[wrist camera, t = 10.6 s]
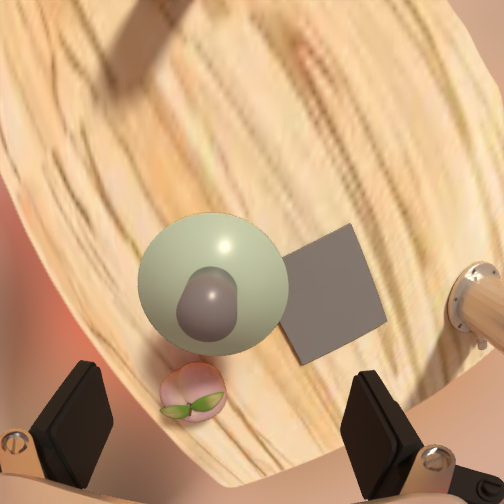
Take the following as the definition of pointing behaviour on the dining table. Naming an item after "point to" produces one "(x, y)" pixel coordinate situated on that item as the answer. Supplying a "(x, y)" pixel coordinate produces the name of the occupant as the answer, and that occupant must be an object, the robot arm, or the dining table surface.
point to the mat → (329, 295)
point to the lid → (213, 284)
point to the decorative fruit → (193, 393)
